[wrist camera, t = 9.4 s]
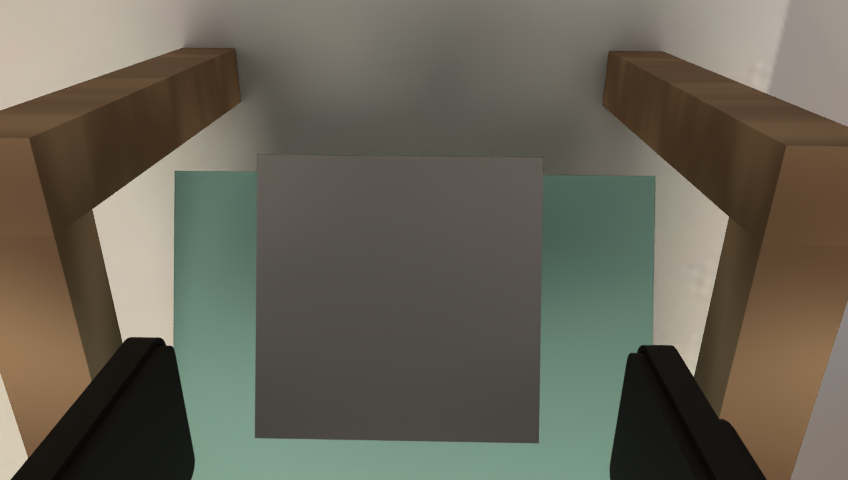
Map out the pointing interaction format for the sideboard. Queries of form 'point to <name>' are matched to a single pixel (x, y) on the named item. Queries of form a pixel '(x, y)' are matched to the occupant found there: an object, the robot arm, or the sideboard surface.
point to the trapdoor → (420, 460)
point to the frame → (623, 96)
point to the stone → (398, 298)
